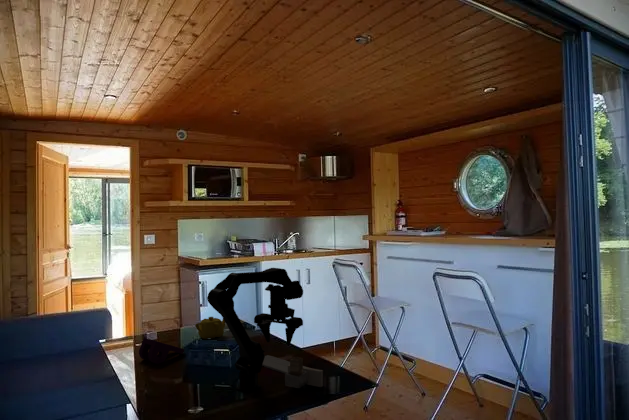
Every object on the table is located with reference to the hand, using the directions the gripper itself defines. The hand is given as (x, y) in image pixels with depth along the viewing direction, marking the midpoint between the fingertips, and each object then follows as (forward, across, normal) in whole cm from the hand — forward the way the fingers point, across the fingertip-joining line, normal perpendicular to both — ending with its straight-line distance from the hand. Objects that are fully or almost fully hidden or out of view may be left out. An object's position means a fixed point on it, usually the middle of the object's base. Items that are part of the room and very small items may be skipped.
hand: (278, 343), depth 168 cm
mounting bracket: (+14, +58, +2) cm, 60 cm away
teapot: (+13, +63, -32) cm, 72 cm away
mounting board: (+13, -11, -1) cm, 17 cm away
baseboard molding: (+14, +4, -12) cm, 19 cm away
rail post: (+10, -11, +5) cm, 16 cm away
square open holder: (+12, -11, +4) cm, 16 cm away
